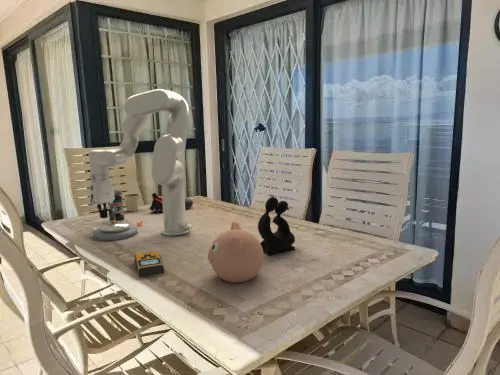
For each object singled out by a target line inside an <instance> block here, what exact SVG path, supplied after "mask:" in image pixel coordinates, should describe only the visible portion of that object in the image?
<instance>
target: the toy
mask: <svg viewBox="0 0 500 375" xmlns="http://www.w3.org/2000/svg"><path fill="white" fill-rule="evenodd" d="M260 243H261V242H260V240H259V239H258V238H257V237H256V236H255V235H254V234H253V233H251V232H249V231H247V230H244V229H242V228H241V226H240V224H239V222H235V221H232V223H231V226H230V230H226V231H225V232H222V233H221V234H219V236H217V237H216V238H215V240H214V241H213V242H212V245H211V246H210V248H209V249H208V254H207V258H208V262H209V264H210V265H211V267H212V269H213V271H214V272H215V274H216V275H217V276H218V277H219V278H220V279H222V280H223V281H225V282H227V281H228V283H233V282H234V283H235V284H236V283H237V282H239V283H245V282H248V281H250V280H252V279H253V278H254V277H255V276H256V275H258V273H259V272H260V271H261V268H262V265H263V262H264V257H265V256H264V252H263V249H262V246H261V244H260ZM234 283H233V284H234Z"/></svg>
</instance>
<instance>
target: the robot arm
mask: <svg viewBox="0 0 500 375" xmlns="http://www.w3.org/2000/svg"><path fill="white" fill-rule="evenodd" d="M123 108H124V112H125V114H126V116H125V117H124V118H123V120H122V122H121V125H120V129H121V131H122V132H123V139H122V141H121V142H120V144H119V146H118V147H117V148H111V149H91V150H89V152H88V160H89V161H88V162H89V170H90V176H89V180H90V182H89V201H90V203H91V207H92V208H97V209H98V212H99V218H100V219H107V218H109V213H108V210H109V204H111V203H113V201H114V199H115V196H114V191H115V189H114V185H113V181H112V179H110V170H109V168H114V167H118V166H123V165H126V164H127V163H128V162H129V161H130V160H131V159H132V157H133V156H134V154H135V152H136V150H137V148H138V145H139V140H140V139H139V138H140V135H141V134H142V132H143V130H144V128H145V126H146V124H147V123H148V121H149V120H150V118H151V117H152V115H153V114H155V113H159V112H165V113H167V112H168V113H169V117H168V120H167V121H166V122H167V123H166V132H165V135H161V136H160V137H159V138H158V139H157V140H156V141H155V143H154V148H153V155H152V162H151V163H152V165H151V176H152V179H153V181H154V182H155V183H156V184H158V185H159V186H161V195H162V203H163V212H162V218H163V228H161V229H160V234H161V235H164V236H180V235H185V234H188V233H190V231H192V230H193V227H194V225H193V224H189V221H188V220H187V218H186V217H187V216H186V209H185V197H186V196H185V178H186V171H185V167H184V165H183V163H182V162H180V161H179V160H177V158H179V157H180V156H183V154H184V153H185V150H186V146H187V145H186V144H187V136H188V125H189V118H190V108H189V105H188V102H187V100H185V98H184V97H183V96H182V95H180V94H179V93H177V92H175V91H172V90H167V89H164V88H163V89H161V88H160V89H159V88H156V89H153V90H149V91H145V92H142V93H138V94H134V95H131V96H130V97H127V99H126V100H125V102H124V104H123Z"/></svg>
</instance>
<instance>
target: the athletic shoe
mask: <svg viewBox="0 0 500 375" xmlns="http://www.w3.org/2000/svg"><path fill="white" fill-rule="evenodd" d="M151 197H152V201H151V206H150V207H149V210H150V211H151V212H154V213H163V203H162V194H160V195H158V194H157V193H156V192H153V193H151ZM193 204H194V202H193V200H192V199H190V198H187V197H186V198H185V210H187V209H189V208H191V207H192V206H193Z"/></svg>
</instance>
